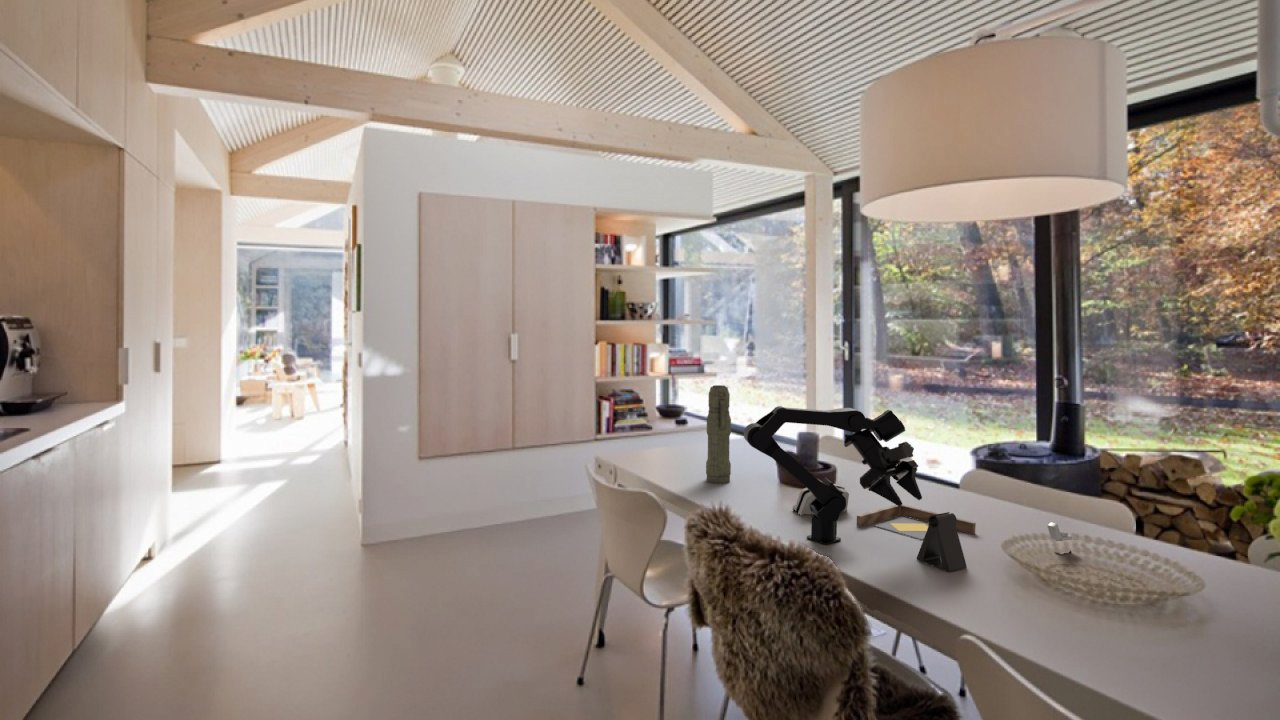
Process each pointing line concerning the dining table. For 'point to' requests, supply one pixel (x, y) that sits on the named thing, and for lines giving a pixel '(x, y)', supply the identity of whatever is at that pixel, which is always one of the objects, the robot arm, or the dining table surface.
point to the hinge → (808, 497)
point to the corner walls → (909, 512)
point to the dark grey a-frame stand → (942, 544)
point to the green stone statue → (718, 435)
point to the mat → (906, 527)
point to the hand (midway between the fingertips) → (911, 502)
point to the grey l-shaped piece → (1058, 533)
